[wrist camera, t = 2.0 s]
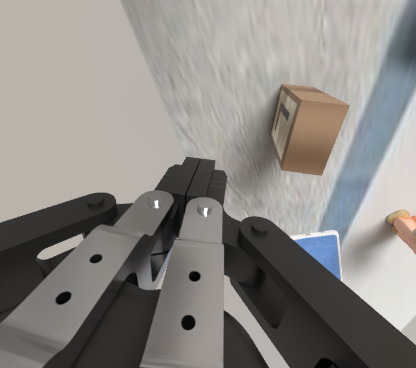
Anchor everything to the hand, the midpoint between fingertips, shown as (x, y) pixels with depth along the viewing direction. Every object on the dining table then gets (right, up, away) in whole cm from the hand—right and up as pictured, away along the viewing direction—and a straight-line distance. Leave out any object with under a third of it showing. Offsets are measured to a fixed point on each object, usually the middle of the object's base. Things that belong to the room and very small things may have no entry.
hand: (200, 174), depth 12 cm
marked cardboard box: (+10, +8, +15) cm, 20 cm away
